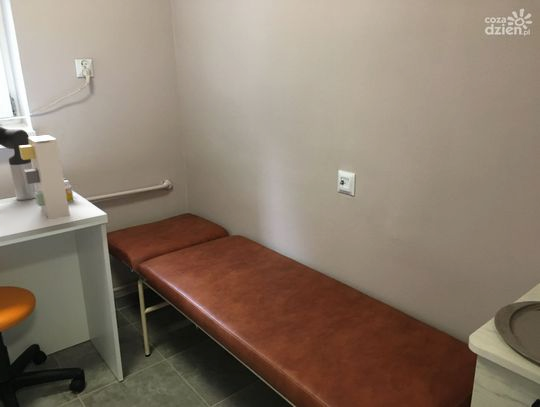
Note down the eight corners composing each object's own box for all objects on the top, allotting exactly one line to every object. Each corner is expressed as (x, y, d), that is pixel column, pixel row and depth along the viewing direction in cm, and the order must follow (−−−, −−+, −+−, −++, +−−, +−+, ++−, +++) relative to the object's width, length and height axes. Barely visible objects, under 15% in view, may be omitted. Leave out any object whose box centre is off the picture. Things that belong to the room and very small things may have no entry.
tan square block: (21, 157, 180) (18, 145, 179) (38, 155, 184) (36, 143, 182) (23, 159, 175) (20, 147, 174) (41, 157, 179) (38, 145, 177)
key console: (41, 209, 194) (27, 137, 185) (60, 205, 199) (48, 135, 189) (49, 218, 180) (34, 141, 171) (69, 214, 185) (56, 139, 175)
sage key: (36, 203, 187) (34, 192, 186) (53, 200, 191) (51, 189, 189) (39, 206, 182) (36, 194, 181) (56, 203, 186) (53, 191, 185)
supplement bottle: (58, 202, 204) (54, 182, 201) (67, 199, 209) (64, 179, 206) (67, 203, 202) (63, 182, 199) (76, 200, 207) (72, 180, 204)
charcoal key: (25, 181, 183) (23, 169, 181) (42, 178, 186) (40, 167, 185) (28, 184, 178) (25, 172, 177) (45, 181, 182) (43, 169, 180)
